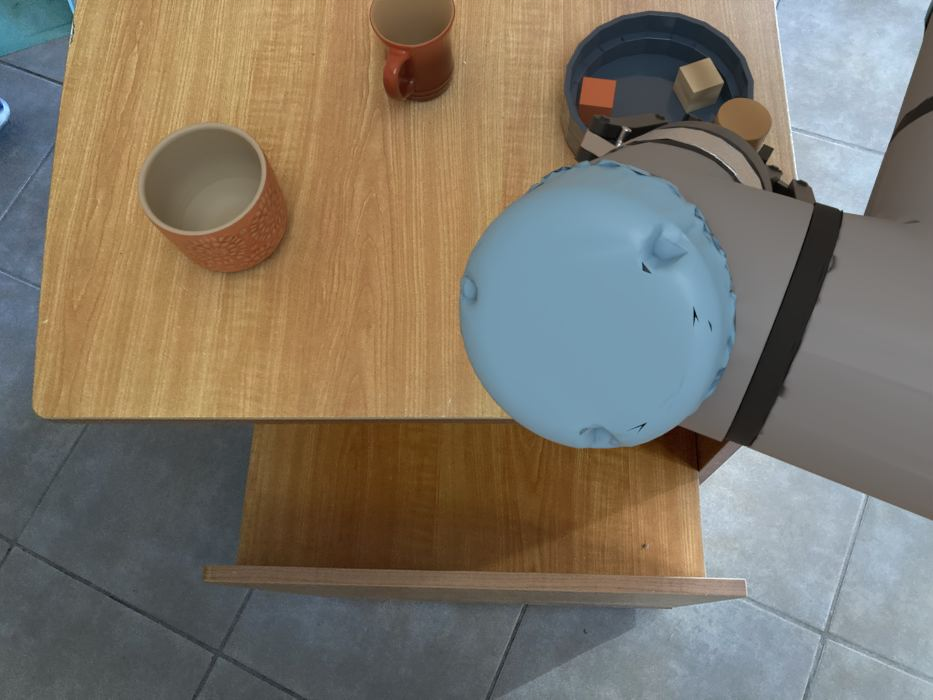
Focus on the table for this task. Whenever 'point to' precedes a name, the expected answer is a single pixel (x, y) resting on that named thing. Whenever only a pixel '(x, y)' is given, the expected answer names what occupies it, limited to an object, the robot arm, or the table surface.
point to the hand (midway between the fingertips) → (733, 152)
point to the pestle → (745, 120)
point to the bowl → (650, 67)
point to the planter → (214, 196)
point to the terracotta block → (596, 98)
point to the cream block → (698, 85)
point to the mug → (415, 46)
